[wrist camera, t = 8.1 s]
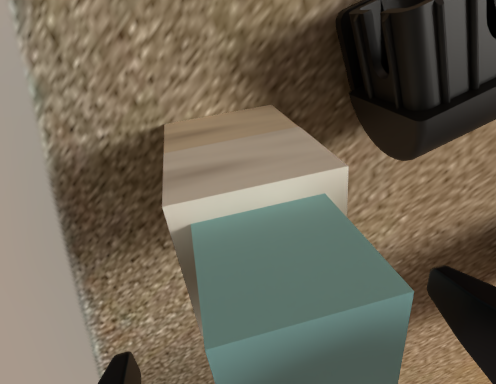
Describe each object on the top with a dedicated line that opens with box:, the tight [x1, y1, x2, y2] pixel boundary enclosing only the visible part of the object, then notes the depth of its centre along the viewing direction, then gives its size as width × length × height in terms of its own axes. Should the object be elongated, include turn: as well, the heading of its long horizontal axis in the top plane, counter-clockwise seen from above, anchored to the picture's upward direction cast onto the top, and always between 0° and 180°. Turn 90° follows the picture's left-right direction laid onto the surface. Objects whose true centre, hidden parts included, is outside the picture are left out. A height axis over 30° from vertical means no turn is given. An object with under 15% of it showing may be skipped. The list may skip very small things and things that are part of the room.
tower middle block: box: [162, 127, 348, 336], centre depth 13 cm, size 6×6×4 cm
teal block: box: [191, 193, 414, 384], centre depth 10 cm, size 4×4×4 cm
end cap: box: [336, 0, 496, 161], centre depth 16 cm, size 10×7×7 cm
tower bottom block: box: [164, 105, 298, 153], centre depth 17 cm, size 6×6×4 cm
